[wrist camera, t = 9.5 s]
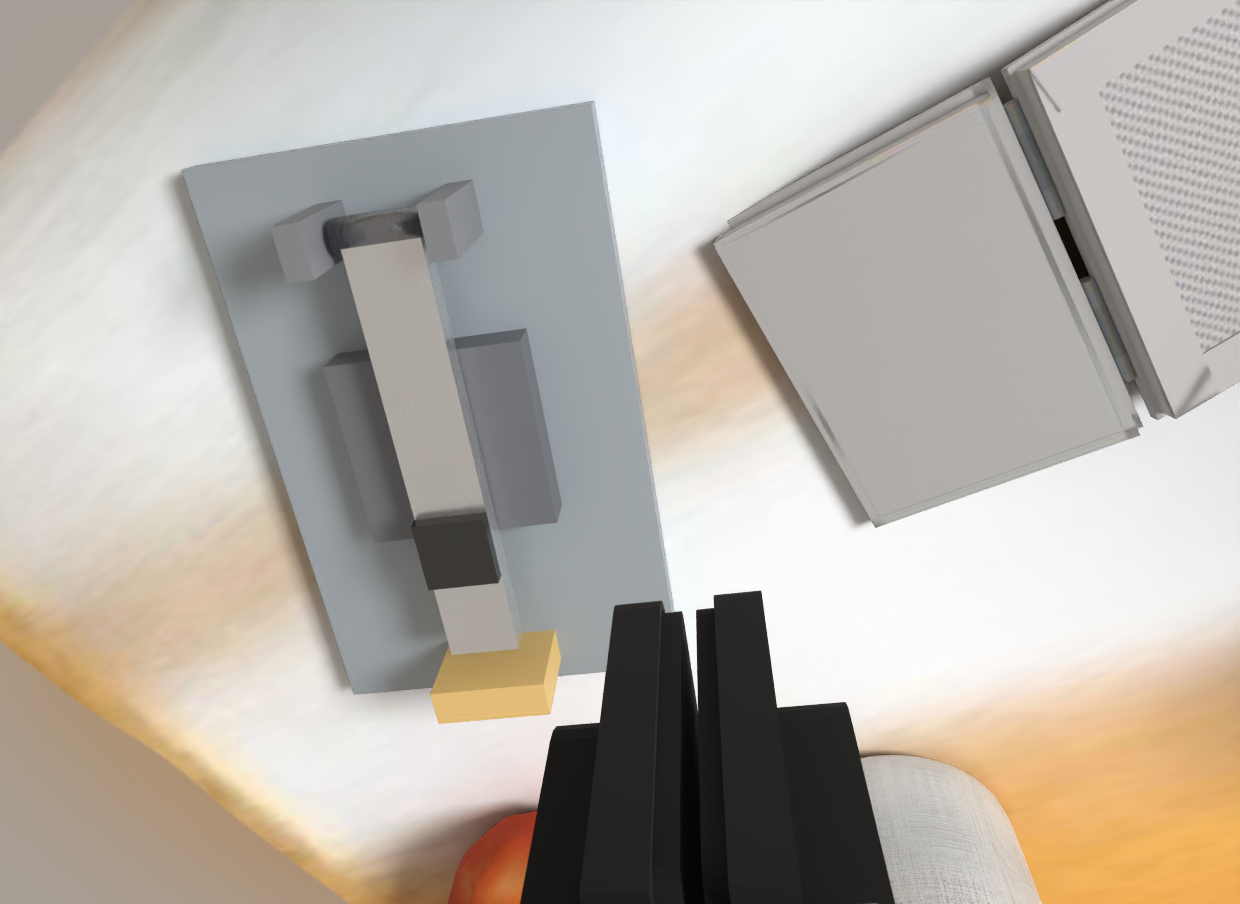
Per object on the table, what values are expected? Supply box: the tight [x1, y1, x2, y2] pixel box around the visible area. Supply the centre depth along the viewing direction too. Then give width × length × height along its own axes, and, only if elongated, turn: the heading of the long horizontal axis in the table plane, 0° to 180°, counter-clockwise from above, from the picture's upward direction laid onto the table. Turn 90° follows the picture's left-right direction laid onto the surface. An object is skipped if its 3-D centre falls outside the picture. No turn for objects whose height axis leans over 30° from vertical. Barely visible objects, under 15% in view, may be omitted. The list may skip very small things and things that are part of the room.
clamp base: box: [182, 101, 674, 724], centre depth 39 cm, size 25×16×6 cm, turn 9°
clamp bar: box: [327, 205, 523, 655], centre depth 38 cm, size 19×4×2 cm, turn 9°
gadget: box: [713, 0, 1240, 528], centre depth 36 cm, size 23×15×4 cm, turn 122°
